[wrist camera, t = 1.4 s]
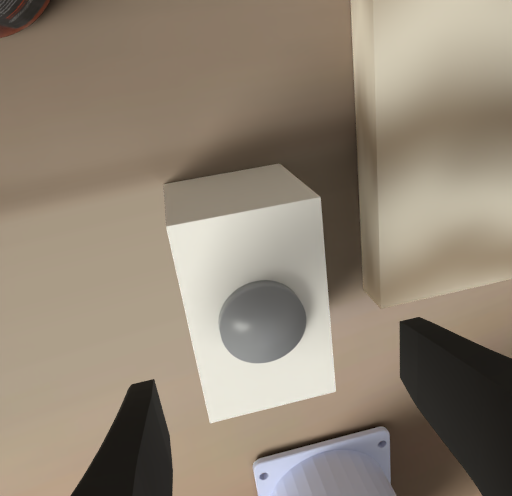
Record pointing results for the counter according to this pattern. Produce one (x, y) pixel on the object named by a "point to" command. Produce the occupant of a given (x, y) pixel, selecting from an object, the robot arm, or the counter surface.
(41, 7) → the supplement bottle
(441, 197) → the stand
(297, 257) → the housing
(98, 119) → the counter surface
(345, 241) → the counter surface
